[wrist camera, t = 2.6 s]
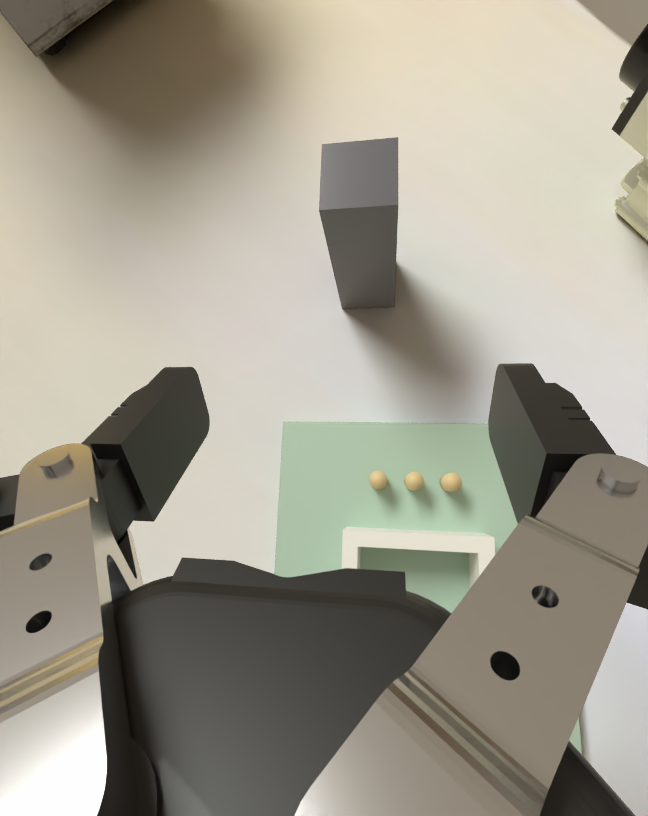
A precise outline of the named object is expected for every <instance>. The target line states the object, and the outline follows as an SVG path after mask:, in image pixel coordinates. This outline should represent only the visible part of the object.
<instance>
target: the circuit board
mask: <svg viewBox="0 0 648 816" xmlns="http://www.w3.org/2000/svg"><path fill="white" fill-rule="evenodd" d="M517 525H518V523H517V520H516V517H515V514H514V511H513V508H512V505H511V502H510V499H509V496H508V493H507V490H506V487H505V484H504V481H503V478H502V475H501V472H500V469H499V466H498V463H497V460H496V457H495V454H494V451H493V448H492V445H491V442H490V438H489V429H488V424H476V423H371V422H283V433H282V451H281V468H280V486H279V503H278V520H277V538H276V555H275V572H274V574H275V575H278V576H281V577H296V576H302V575H308V574H314V573H320V572H326V571H332V570H338V569H344V568H353V569H369V570H385V571H401V572H405V579H406V591H409V592H412V593H415V594H418V595H420V596H422V597H425V598H427V599H429V600H431V601H433V602H435V603H436V604H438V605H440V606H442V607H443V608H445V609H446V610H448V611H449V612H450V613H452V612H453V611H454V610H455V608H456V607H457V606H458V604H459V603H460V601H461V600H462V599H463V597H464V596H465V595H466V593H467V592H468V591H469V589H470V588H471V587H472V585H473V584H474V583H475V581H476V580H477V579H478V577H479V576H480V575H481V573H482V572H483V571H484V569H485V568H486V567H487V565H488V564H489V562H490V561H491V560H492V558H493V557H494V556H495V554H496V553H497V552H498V550H499V549H500V548H501V546H502V545H503V544H504V542H505V541H506V540H507V538H508V537H509V536H510V534H511V533H512V532H513V530H514V529H515V528H516V526H517ZM569 741H570V742H571V743H572V744H573V745H574V746H575V748H576V749H577V750H578V751H579V752H580V753H581V754H582V749H581V736H580V724H579V718H578V720H577V722H576V725H575V727H574V730H573V732H572V734H571V737H570V739H569Z"/></svg>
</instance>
